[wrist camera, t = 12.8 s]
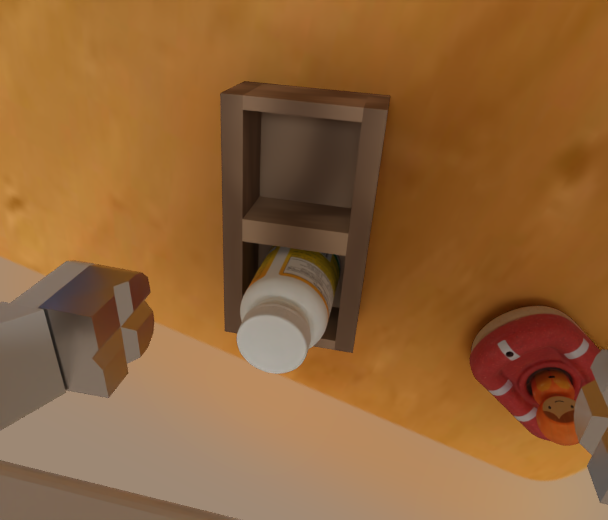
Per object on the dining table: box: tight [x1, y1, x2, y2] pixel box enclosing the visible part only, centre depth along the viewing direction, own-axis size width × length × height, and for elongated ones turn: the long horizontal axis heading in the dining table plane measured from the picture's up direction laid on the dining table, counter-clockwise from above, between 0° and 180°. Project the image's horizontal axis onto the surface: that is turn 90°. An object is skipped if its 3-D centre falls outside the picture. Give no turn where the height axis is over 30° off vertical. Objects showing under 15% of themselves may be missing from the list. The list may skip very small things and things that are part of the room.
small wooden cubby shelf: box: [220, 81, 390, 353], centre depth 31 cm, size 9×16×4 cm, turn 176°
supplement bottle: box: [237, 246, 341, 374], centre depth 30 cm, size 5×5×10 cm
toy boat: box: [470, 306, 600, 445], centre depth 32 cm, size 8×12×8 cm, turn 46°
